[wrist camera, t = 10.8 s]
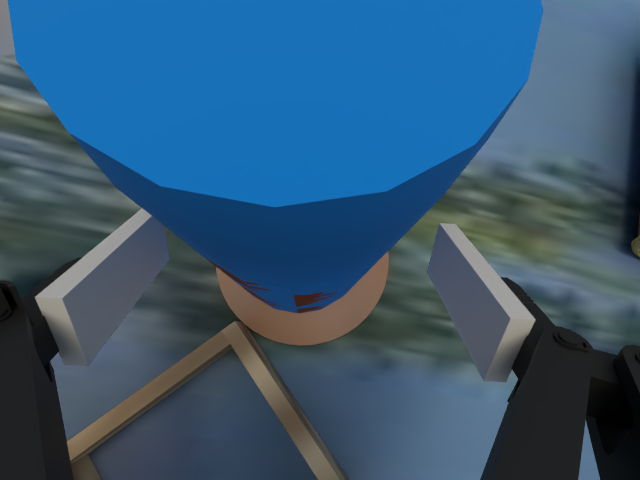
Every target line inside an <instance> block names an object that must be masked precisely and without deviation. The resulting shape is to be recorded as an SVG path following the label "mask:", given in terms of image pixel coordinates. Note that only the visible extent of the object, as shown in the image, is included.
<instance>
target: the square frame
mask: <svg viewBox="0 0 640 480" xmlns="http://www.w3.org/2000/svg"><path fill="white" fill-rule="evenodd" d="M232 348H233V349H234V351H235V352H236V354H237V355H238V357H239V358H240V360H241V361H242V363H243V365H244V366H245V368H246V369H247V371H248V372H249V374H250V375H251V377H252V378H253V380H254V382H255V383H256V385H257V386H258V388H259V389H260V391H261V392H262V394H263V395H264V397H265V399H266V400H267V402H268V403H269V405H270V406H271V408H272V409H273V411H274V412H275V414H276V416H277V417H278V419H279V420H280V422H281V423H282V425H283V426H284V428H285V429H286V431H287V433H288V434H289V436H290V437H291V439H292V440H293V442H294V443H295V445H296V446H297V448H298V450H299V451H300V453H301V454H302V456H303V457H304V459H305V460H306V462H307V463H308V465H309V467H310V468H311V470H312V471H313V473H314V474H315V476H316V477H317V479H318V480H348V478H347V477H346V475H345V474H344V472H343V471H342V469H341V468H340V466H339V465H338V463H337V462H336V460H335V459H334V457H333V456H332V454H331V453H330V451H329V450H328V448H327V447H326V445H325V444H324V442H323V441H322V439H321V438H320V436H319V435H318V433H317V432H316V430H315V429H314V427H313V426H312V424H311V423H310V421H309V420H308V418H307V417H306V415H305V414H304V412H303V411H302V409H301V408H300V406H299V405H298V403H297V402H296V400H295V399H294V397H293V396H292V394H291V393H290V391H289V390H288V388H287V387H286V385H285V384H284V382H283V381H282V379H281V378H280V376H279V375H278V373H277V372H276V370H275V369H274V367H273V366H272V364H271V363H270V361H269V360H268V358H267V357H266V355H265V354H264V352H263V351H262V349H261V348H260V346H259V345H258V343H257V342H256V340H255V339H254V337H253V336H252V334H251V333H250V331H249V330H248V328H247V327H246V325H245V324H244V323H242V322H238V321H234V322H233V323H231V324H230V325H229V326H227V327H226V328H224V329H223V330H222V331H220V332H219V333H217V334H216V335H215V336H213V337H212V338H210V339H209V340H208V341H206V342H205V343H204V344H202V345H201V346H199V347H198V348H197V349H195V350H194V351H192V352H191V353H190V354H188V355H187V356H185V357H184V358H183V359H181V360H180V361H178V362H177V363H176V364H174V365H173V366H172V367H170V368H169V369H167V370H166V371H165V372H163V373H162V374H160V375H159V376H158V377H156V378H155V379H153V380H152V381H151V382H149V383H148V384H147V385H145V386H144V387H142V388H141V389H140V390H138V391H137V392H135V393H134V394H133V395H131V396H130V397H128V398H127V399H126V400H124V401H123V402H121V403H120V404H119V405H117V406H116V407H115V408H113V409H112V410H110V411H109V412H108V413H106V414H105V415H103V416H102V417H101V418H99V419H98V420H96V421H95V422H94V423H92V424H91V425H89V426H88V427H87V428H85V429H84V430H83V431H81V432H80V433H78V434H77V435H76V436H74V437H73V438H71V439H70V440H69V441H67V446H68V451H69V456H70V462H71V467H72V473H73V478H74V480H101V478H100V476H99V474H98V472H97V470H96V468H95V466H94V464H93V462H92V460H91V458H90V456H89V454H90V453H91V452H93V451H94V450H95V449H97V448H98V447H99V446H101V445H102V444H103V443H105V442H106V441H108V440H109V439H110V438H112V437H113V436H114V435H116V434H117V433H118V432H120V431H121V430H122V429H124V428H125V427H127V426H128V425H129V424H131V423H132V422H133V421H135V420H136V419H137V418H139V417H140V416H141V415H143V414H144V413H146V412H147V411H148V410H150V409H151V408H152V407H154V406H155V405H156V404H158V403H159V402H160V401H162V400H163V399H164V398H166V397H167V396H169V395H170V394H171V393H173V392H174V391H175V390H177V389H178V388H179V387H181V386H182V385H183V384H185V383H186V382H188V381H189V380H190V379H192V378H193V377H194V376H196V375H197V374H198V373H200V372H201V371H202V370H204V369H205V368H207V367H208V366H209V365H211V364H212V363H213V362H215V361H216V360H217V359H219V358H220V357H221V356H223V355H224V354H226V353H227V352H228V351H230V350H231V349H232Z"/></svg>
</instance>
